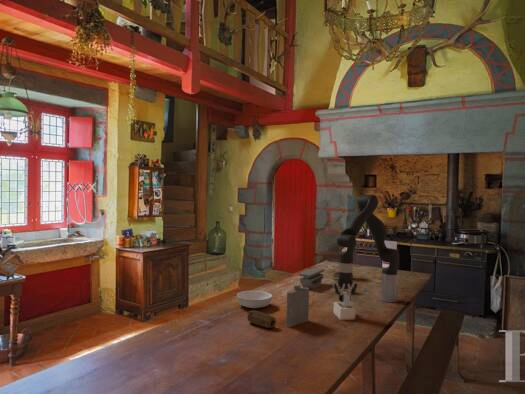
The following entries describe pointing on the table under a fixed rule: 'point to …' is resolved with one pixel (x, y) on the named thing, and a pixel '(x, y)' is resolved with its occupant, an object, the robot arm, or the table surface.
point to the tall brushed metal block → (345, 300)
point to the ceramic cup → (335, 281)
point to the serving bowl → (254, 298)
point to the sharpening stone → (311, 278)
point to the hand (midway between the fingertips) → (344, 301)
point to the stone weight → (261, 319)
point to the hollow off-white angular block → (344, 312)
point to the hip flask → (297, 306)
